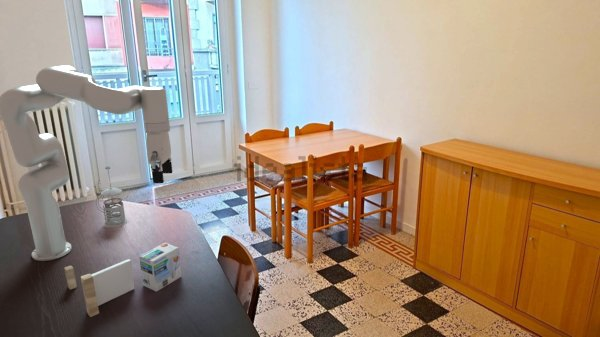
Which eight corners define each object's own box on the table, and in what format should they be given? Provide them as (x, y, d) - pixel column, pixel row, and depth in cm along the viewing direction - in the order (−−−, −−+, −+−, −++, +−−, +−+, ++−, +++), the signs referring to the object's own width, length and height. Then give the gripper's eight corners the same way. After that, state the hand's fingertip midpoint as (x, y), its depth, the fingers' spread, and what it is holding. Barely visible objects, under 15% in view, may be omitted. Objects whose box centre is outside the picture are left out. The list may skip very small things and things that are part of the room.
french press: (122, 227, 172) (114, 169, 164) (94, 227, 172) (84, 169, 165) (132, 217, 182) (124, 162, 174) (105, 217, 182) (96, 162, 174)
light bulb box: (156, 292, 130) (152, 261, 126) (142, 285, 133) (137, 255, 130) (182, 276, 138) (179, 246, 135) (168, 270, 142) (165, 241, 138)
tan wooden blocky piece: (67, 287, 132) (60, 253, 128) (75, 284, 134) (69, 250, 130) (90, 317, 118) (83, 280, 115) (99, 313, 120) (92, 276, 116)
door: (89, 310, 121) (83, 279, 118) (87, 308, 121) (81, 278, 118) (134, 288, 131) (130, 260, 128) (132, 287, 132) (128, 258, 128)
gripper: (154, 121, 141) (160, 169, 146) (135, 133, 125) (142, 187, 130) (176, 121, 141) (181, 169, 146) (160, 133, 125) (167, 187, 130)
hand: (163, 177), depth 138 cm, fingers open, 9 cm apart
